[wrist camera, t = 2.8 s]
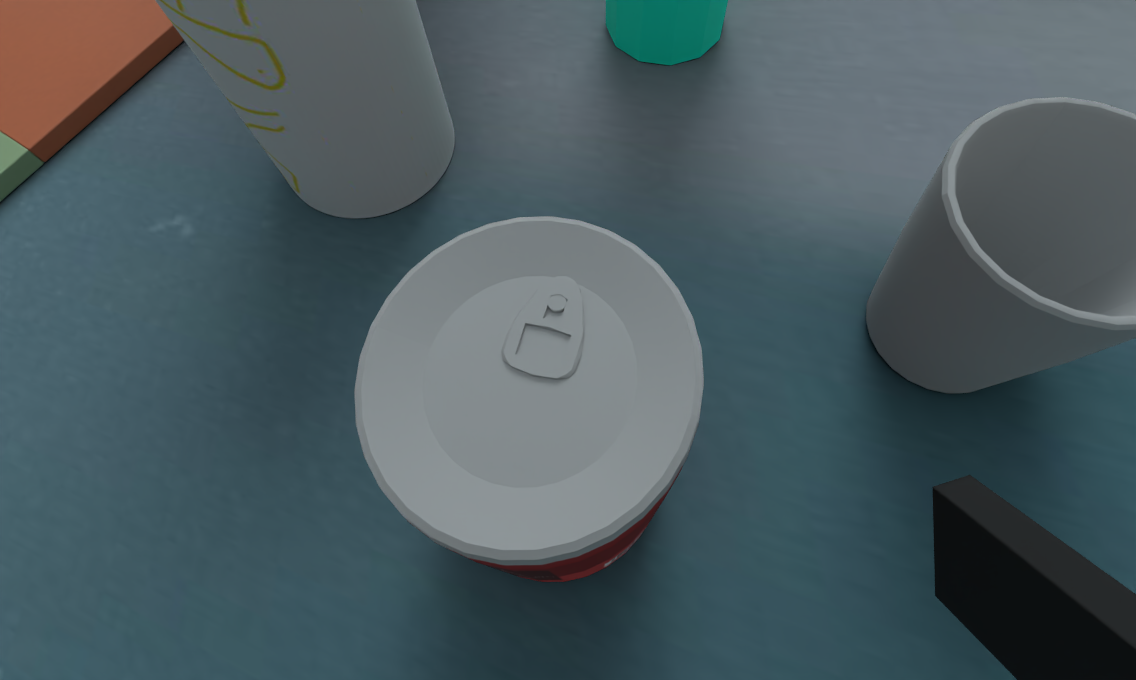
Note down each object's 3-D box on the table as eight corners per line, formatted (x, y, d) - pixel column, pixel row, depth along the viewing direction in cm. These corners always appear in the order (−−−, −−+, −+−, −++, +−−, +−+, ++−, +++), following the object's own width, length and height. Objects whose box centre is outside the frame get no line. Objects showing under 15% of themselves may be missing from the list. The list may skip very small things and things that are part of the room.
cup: (798, 316, 26) (886, 188, 18) (960, 183, 28) (1101, 17, 20) (953, 461, 23) (1133, 386, 15) (1117, 304, 25) (1350, 167, 18)
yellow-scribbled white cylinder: (257, 129, 31) (68, -137, 20) (405, 55, 32) (305, -231, 21) (327, 249, 28) (152, 15, 17) (486, 162, 29) (419, -106, 18)
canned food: (658, 370, 25) (698, 211, 15) (664, 587, 22) (720, 571, 12) (466, 368, 26) (378, 211, 15) (445, 581, 22) (320, 559, 12)
